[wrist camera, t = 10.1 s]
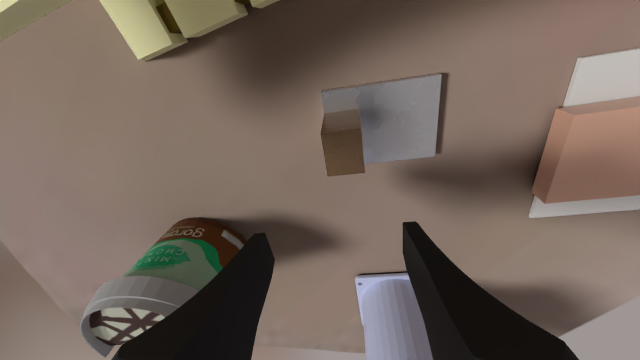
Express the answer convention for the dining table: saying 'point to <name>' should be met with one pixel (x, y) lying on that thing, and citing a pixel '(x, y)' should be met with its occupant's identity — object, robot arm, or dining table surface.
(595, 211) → the mat
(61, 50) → the dining table surface
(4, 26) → the slatted curved stool
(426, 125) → the turner
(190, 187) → the dining table surface
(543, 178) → the tile
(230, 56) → the dining table surface
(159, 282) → the food container
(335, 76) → the dining table surface
